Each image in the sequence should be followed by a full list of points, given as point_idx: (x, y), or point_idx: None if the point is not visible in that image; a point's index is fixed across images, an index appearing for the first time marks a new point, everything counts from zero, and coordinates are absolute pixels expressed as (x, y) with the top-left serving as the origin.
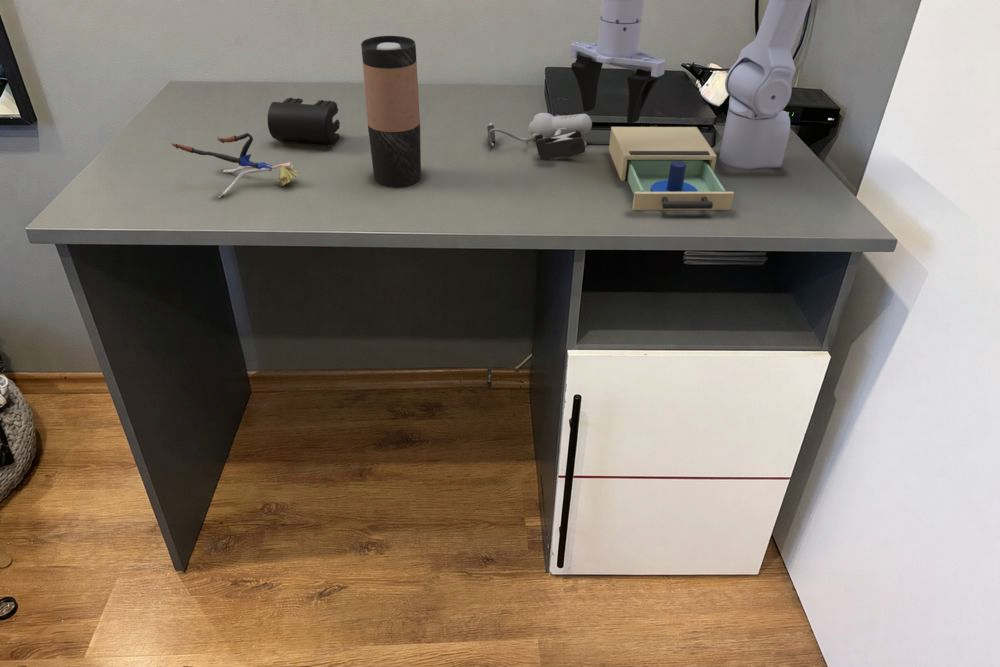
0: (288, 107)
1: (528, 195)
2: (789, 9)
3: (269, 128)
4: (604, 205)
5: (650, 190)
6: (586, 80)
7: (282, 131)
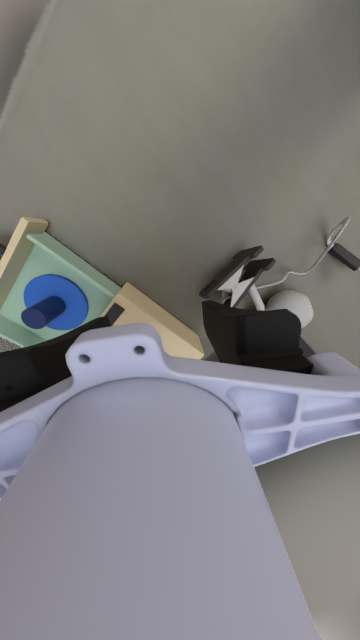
0: None
1: (185, 142)
2: None
3: None
4: (92, 214)
5: (77, 286)
6: (223, 322)
7: None
